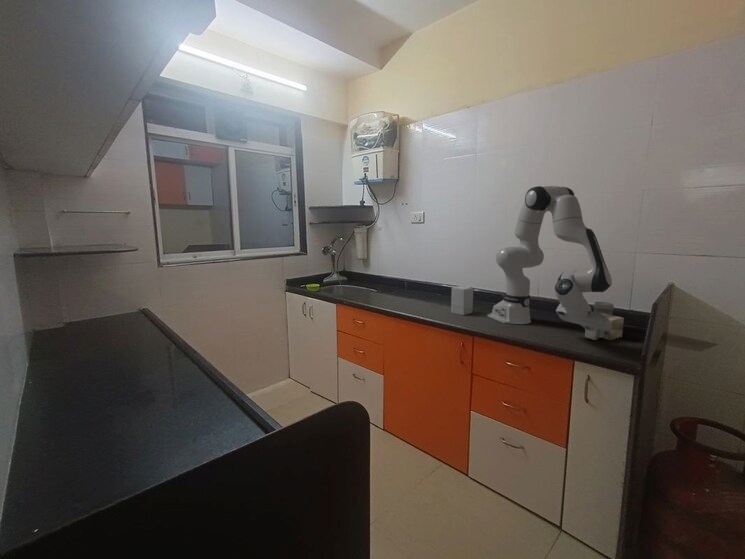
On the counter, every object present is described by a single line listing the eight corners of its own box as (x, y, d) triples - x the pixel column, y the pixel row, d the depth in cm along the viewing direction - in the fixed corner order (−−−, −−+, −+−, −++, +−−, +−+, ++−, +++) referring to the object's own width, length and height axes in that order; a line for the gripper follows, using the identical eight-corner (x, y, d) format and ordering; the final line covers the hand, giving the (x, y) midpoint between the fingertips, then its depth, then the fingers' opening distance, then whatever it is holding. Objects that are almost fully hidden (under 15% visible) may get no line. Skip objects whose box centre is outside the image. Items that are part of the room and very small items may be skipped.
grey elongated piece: (584, 337, 151) (586, 319, 150) (607, 331, 160) (609, 314, 158) (594, 340, 147) (596, 321, 146) (618, 333, 156) (620, 316, 154)
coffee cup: (607, 325, 170) (609, 301, 168) (615, 330, 162) (618, 305, 160) (588, 324, 172) (590, 301, 170) (595, 329, 164) (597, 304, 162)
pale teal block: (586, 334, 153) (588, 322, 152) (591, 333, 154) (592, 321, 153) (599, 337, 148) (600, 325, 147) (604, 336, 150) (605, 324, 149)
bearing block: (587, 334, 157) (588, 315, 155) (598, 331, 161) (600, 312, 160) (610, 340, 148) (612, 320, 147) (621, 337, 152) (624, 317, 151)
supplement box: (473, 313, 196) (474, 287, 194) (463, 315, 191) (464, 289, 188) (460, 310, 203) (460, 285, 201) (450, 312, 198) (451, 287, 195)
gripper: (608, 309, 134) (619, 329, 140) (559, 299, 152) (570, 318, 158) (600, 321, 133) (612, 341, 139) (552, 310, 150) (564, 328, 156)
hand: (589, 328), depth 148 cm, fingers closed, pressing on grey elongated piece
